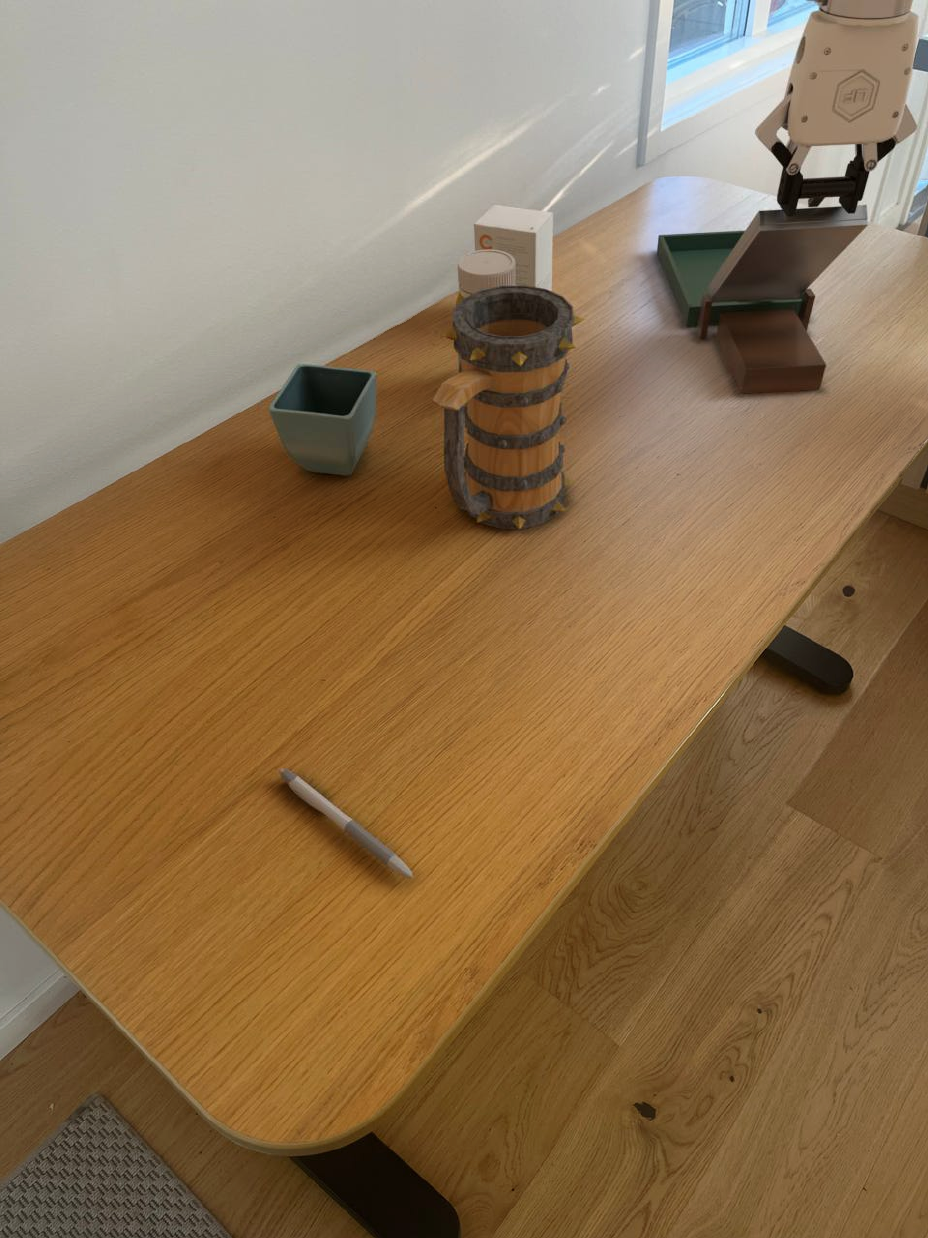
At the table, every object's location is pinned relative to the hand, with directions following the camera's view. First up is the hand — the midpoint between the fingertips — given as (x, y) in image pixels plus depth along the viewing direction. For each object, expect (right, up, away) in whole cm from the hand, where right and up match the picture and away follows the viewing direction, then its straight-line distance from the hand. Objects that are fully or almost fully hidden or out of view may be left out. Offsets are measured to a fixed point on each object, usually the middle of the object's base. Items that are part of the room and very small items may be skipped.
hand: (817, 207), depth 91 cm
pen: (-44, -57, -24) cm, 76 cm away
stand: (+1, -10, +18) cm, 21 cm away
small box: (-29, -2, +28) cm, 40 cm away
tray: (0, +4, +31) cm, 32 cm away
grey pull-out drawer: (0, -2, +9) cm, 9 cm away
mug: (-32, -30, +1) cm, 44 cm away
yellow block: (+2, -1, +23) cm, 23 cm away
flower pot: (-49, -24, +7) cm, 55 cm away
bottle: (-32, -14, +17) cm, 39 cm away
